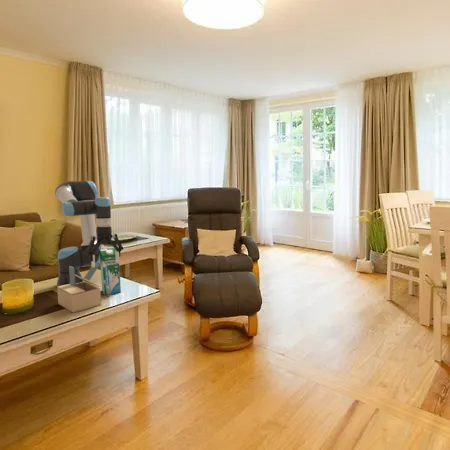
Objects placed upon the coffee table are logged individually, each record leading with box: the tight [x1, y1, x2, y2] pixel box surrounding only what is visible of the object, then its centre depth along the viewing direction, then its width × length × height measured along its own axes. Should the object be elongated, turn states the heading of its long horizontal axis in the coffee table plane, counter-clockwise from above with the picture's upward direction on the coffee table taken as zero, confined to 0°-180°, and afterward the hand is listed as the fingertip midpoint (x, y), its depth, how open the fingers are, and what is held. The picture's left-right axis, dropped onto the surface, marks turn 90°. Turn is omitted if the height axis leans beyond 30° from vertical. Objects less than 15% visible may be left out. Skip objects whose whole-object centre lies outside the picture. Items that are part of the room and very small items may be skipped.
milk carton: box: [99, 247, 122, 296], centre depth 210 cm, size 9×9×25 cm
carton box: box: [56, 281, 102, 314], centre depth 191 cm, size 18×15×9 cm
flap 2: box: [75, 262, 101, 288], centre depth 195 cm, size 17×7×10 cm
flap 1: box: [57, 266, 85, 295], centre depth 187 cm, size 17×7×10 cm, turn 46°
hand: (105, 265), depth 195 cm, fingers open, 13 cm apart
